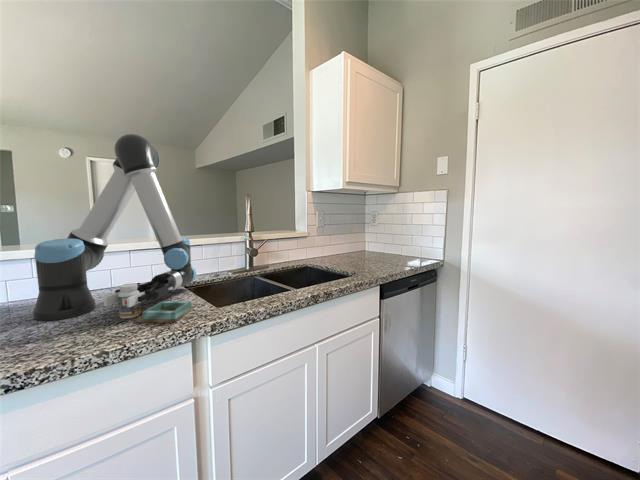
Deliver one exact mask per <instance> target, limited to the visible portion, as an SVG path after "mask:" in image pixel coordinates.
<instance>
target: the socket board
mask: <svg viewBox="0 0 640 480" xmlns="http://www.w3.org/2000/svg"><path fill="white" fill-rule="evenodd" d="M191 312H192V301H160V302H158V303H156V304H155V305H153V306H150V307H149V308H148V309H145V310H143V311H141V315H139V316H137V318H136V317H135V322H136V323H174V324H175V323H177V322H178V321H180V320H181V319H183V318H184V317H185V316H187V315H188V314H189V313H191Z"/></svg>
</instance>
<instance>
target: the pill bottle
mask: <svg viewBox="0 0 640 480" xmlns="http://www.w3.org/2000/svg"><path fill="white" fill-rule="evenodd" d="M137 288H138V285H137V284H136V283H134V282H133V283H132V282H131V283H124V284H121V285H119V289H120V291H121V293H119V295H118V300H119V302H118V311H119V317H120V318H121V319H123V320H124V319H134V318H136V317H137V318H138V317H140V316H141V315H142V302H141V303H138V304H136V305H134V306H132V307H127V298H129V297H131V296H134V295H136V294H139V293H140V292H139V291H138V290H137Z"/></svg>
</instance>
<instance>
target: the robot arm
mask: <svg viewBox="0 0 640 480" xmlns="http://www.w3.org/2000/svg"><path fill="white" fill-rule="evenodd" d="M114 154H115V157H116V158H115V160H114V162H113V163H112V167H113V170H114V171H113V173H112V174H111V176H110V178H109V179H108V181H107V183H106V184H105V186H104V188H103V189H102V191H101V192H100V194H99V196H98V197H97V199H96V200H95V202H94V203H93V205H92V207H91V208H90V210H89V212H88V214H87V215H86V217H85V219H84V220H83V222H82V223H81V225H80V226H79V228H76V229H72V230H71V231H70V233H69V234H68V236H67V238H57V239H56V238H55V239H51V240H50V239H49V240H45V241H42V242H39V243H37V244H36V245H35V247H34V255H33V256H34V259H35V260H34V261H35V266H36V277H37V285H38V286H37V287H38V295H37V299H36V303H35V307H34V308H33V309H32V310H33V311H32V315H33V319H34V320H36V321H43V322H44V321H58V320H64V319H69V318H73V317H78V316H82V315H85V314H87V313H90V312H92V311H94V310H95V309H96V307H97V305H96V300H95V298H94V297H93V294H92V293H91V291H90V288H89V286H88V278H87V276H88V275H87V272H88V271H90V270H92V269H95V268H96V267H97V266H99V265H100V263H101V262H102V261H103V259H104V257H105V251H106V249H107V247H108V245H109V242H108V240H107V238H108V237H109V235H110V234H111V232H112V230H113V228H114V227H115V225H116V223H117V221H118V220H119V218H120V217H121V215H122V213H123V212H124V210H125V208H126V207H127V206H128V203H129V202H130V200H131V198H132V197H133V195H134V193H135V192H136V195H137V196H138V199H139V201H140V204H141V206H142V208H143V210H144V213H145V215H146V218H147V220H148V221H149V224H150V226H151V228H152V231H153V232H154V233H153V234H154V235H155V238H156V240H157V242H158V245H159V247H160V250H161V252H162V255H163V263H164V264H165V265H166V267H167V268H169V269H170V270H168V271H165V272H163V273H159V274H156V275H155V276H153V277H152V279H151V281H147V282H145V283H140V282H137V283H136V284H137V285H138V288H137V290H138V291H139V292H140V293H139V294H136V295H134V296H131V297H129V298H127V307H132V306H134V305H136V304H138V303H141V304H142V303H143V302H145V301H149V300H151V299H153V300H157V299H160V298H162V297H163V296H165V295H167V294H169V293H172V292H174V291H175V290H177V289H180V288H182V287H185V286H187V285H190V283H193V282H194V281H195V280H196V277H197V270H196V269H195V268H194V267H193V266H192V264H191V263H192V262H191V261H192V260H191V258H192V257H191V255H192V254H191V241H190V239H189V238H186V237H185V238H183V237H182V236H181V234H180V232H179V229H178V226H177V224H176V221H175V219H174V216H173V214H172V211H171V210H170V206H169V205H168V202H167V200H166V197H165V195H164V192H163V190H162V187H161V185H160V182H159V180H158V178H157V175H156V172H157V170H158V168H159V165H160V155H159V152H158V150H157V149H156V148H155V147H154V146H153V145H152V143H150V142H149V141H148V139H146V138H145V137H143V136H141V135H138V134H136V133H135V134H134V133H133V134H132V133H130V134H125V135H122V136H120V137H119V138H118V139H117V140H116V142H115V144H114ZM119 293H121V291H120V288H118V289H115V291H114V293H112V294H109V295H107V296H104V297H103V306H104V307H108V306H111V305H113V304H116V303H119V300H118V295H119Z"/></svg>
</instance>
